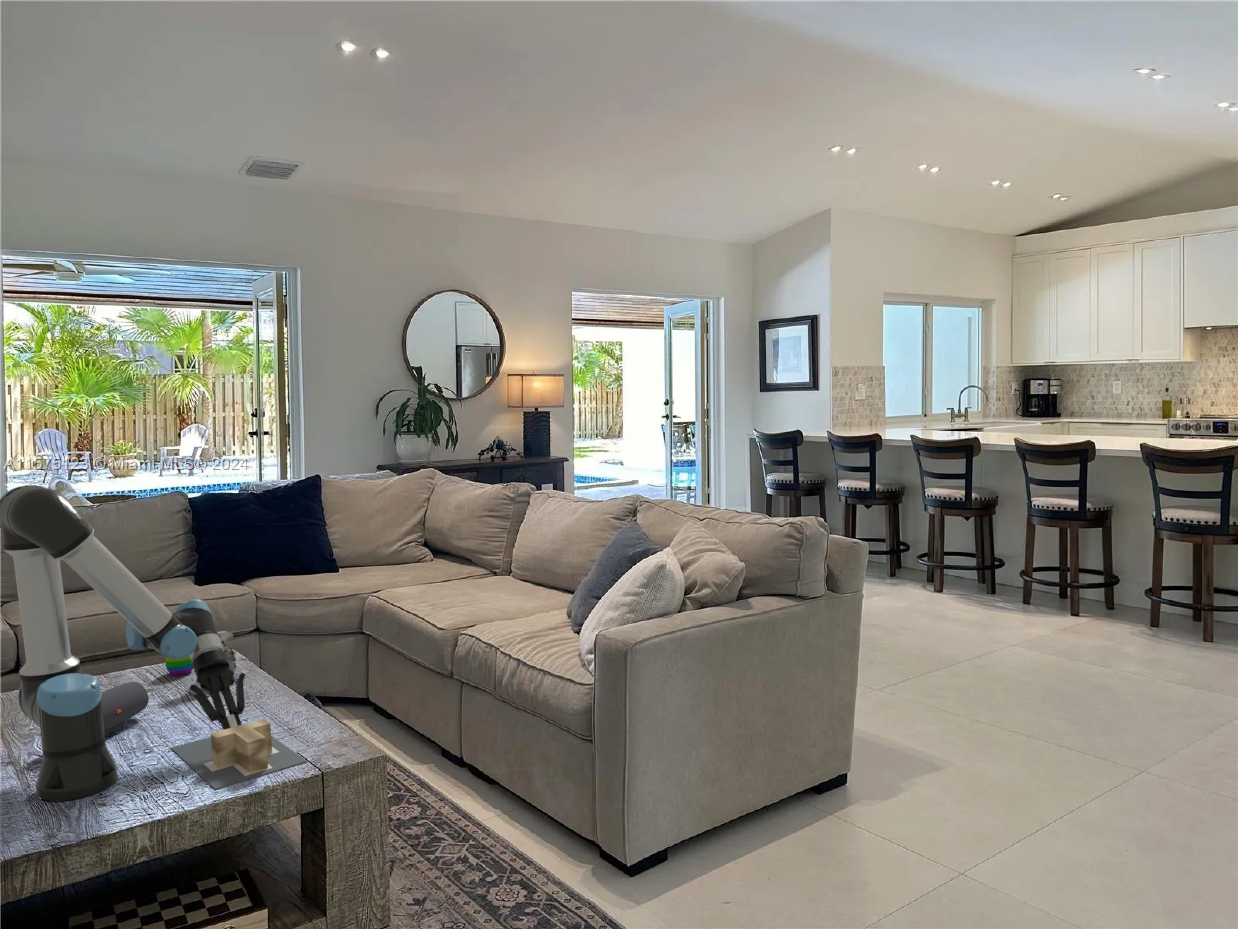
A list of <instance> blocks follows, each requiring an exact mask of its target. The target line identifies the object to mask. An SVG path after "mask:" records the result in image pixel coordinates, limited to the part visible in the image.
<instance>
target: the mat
mask: <svg viewBox="0 0 1238 929" xmlns="http://www.w3.org/2000/svg"><path fill="white" fill-rule="evenodd" d="M271 741H272V753H270V754H267V760H268V768H266V769H263V770H259V771H256V772H253V773H249V772H248V771H246V770H245V769H244V768H243V767H241V766H240V765H239V764H238V763H236V764H232V765H229V766H225V767H222V768H218V767H217V766H215V765H214V764H213V759H212V746H211V736H209V737H206V738H202V739H199V740H195V741H191V742H187V743H184V744H183V743H182V744H179V745H176V746H172V747H170V749H171V750H172V751H173V752H174V753H175V754H176V755H178V757H179V758H181V759H182V760H183V761H184V762H185V763H186V764H187V765H188V766H189V767H190V768H191V769H192V770H193V771H194V772H195V773H197V775H198V776H200V777H201V778H202V779H203V780H204V781H205V782H206V783H207V784H208V785H209V786H210V787H212V789H213V790H215V791H216V790H219V789H222V788H225V787H229V786H232V785H235V784H236V785H237V784H239V783H242V782H245V781H249V780H252V779H256V778H259V777H262V776H265V775H269V774H271V773H276V772H278V771H281V770H284V769H287V768H288V769H289V768H292V767H294V766H298V765H302V764H304V763H308V760H306V759H305V758H304V757H303V756H301V755H300V754H298V753H296V752H295V751H293V749H291V748H290V747H288V746H286V745H285V744H284V743H283V742H282V741H280V740H278V739H277V738H275V737H274V736H273V735H271Z"/></svg>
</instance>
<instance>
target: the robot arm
mask: <svg viewBox="0 0 1238 929" xmlns="http://www.w3.org/2000/svg"><path fill="white" fill-rule="evenodd" d="M0 530H1V536H2V545H3V551H4V552H5V553H7V554H8V555H10V556H11V557H12V560H13V566H14V574H15V581H16V582H15V583H16V588H17V597H18V606H19V613H20V614H19V615H20V622H21V630H22V638H23V644H24V645H23V646H24V654H25V663H24V665H23V666H22V667H21V668H20V669H19V670H18V673H19V679H20V686H19V689H18V694H17V697H18V699H17V700H18V706H19V708H20V711H21V712H22V713H23V714H24V716H25V717H27V718H28V719H29V720H31V721H32V722H33V723H34V724H35V725H37V726H38V727H39V730H40V741H41V750H42V760H41V761H42V762H41V765H40V768H39V772H38V776H37V779H36V780H37V781H36V783H35V790H36V791H35V792H36V793H35V794H36V797H37V796H38V797H40V798H41V799H44V800H49V801H48V802H65V801H70V800H71V801H72V800H77V799H81V798H85V797H88V796H92V795H94V794H97V793H99V792H102V791H104V790H105V789H106V790H107V789H108V788H109V787H111V786H112V785H114V784H115V783H116V782H117V781H118V769H117V765H116V764H115V762H114V760H113V757H112V756H111V754H110V752H109V750H108V747H107V746H106V738H105V736H106V735H105V736H104V723H103V712H102V700H101V697H102V692H103V691H102V689H101V686H100V681H99V679H98V678H96V677H95V676H93V675H92V674H88V673H83V674H82V670H81V662H80V658H77V657H76V656H74V655H72V653H71V652H72V651H71V645H70V644H71V643H70V637H69V636H70V635H69V629H68V628H69V627H68V620H67V610H66V602H65V593H64V585H63V576H62V570H61V561H64V563H66V565H68V566H69V567H70V569H72V570H73V571H74V572H75V573H76V574H77V575H78V576H79V577H80V578H82V579H83V581H85V583H87V585H89V587H91V588H92V589H93V590H94V591H95V592H96V593H97V594H98V595H99V596H101V597H102V598H103V599H104V600H105V602H107V603H108V604H109V605H110V606H111V607H112V608H114V610H115V611H116V612H117V613H118V614H120V616H121V617H123V619H125V620H126V621H127V624H126V627H125V628H126V629H125V637H126V643H127V646H128V647H129V649H131V650H132V651H133V650H134V651H138V650H142V651H144V650H145V649H146V650H147V649H151V650H153V651H155V652H157V653H159V654H161V655H163V656H164V657H165V658H166V657H167V658H172V659H183V658H186V657H188V656H189V655H190V658H191V661H192V662H193V667H194V668H193V671H195V672H194V673H195V675H196V681H195V683H192V684H190V685H189V686H190V687H189V690H188V694H189V695H191V696H192V697H193V698H195V699H196V701H197V702H198V704H199V705H200V707H201V708H202V710H203V712H204V713H205V714H206V716H207V717H208V718H209V720H210V721H211V722H216V721H217V722H218V723H219V724H221V729H222V730H225V729H228V728H232V727H236V726H240V725H242V721H241V718H240V715H243V714H244V713H243V712H244V710H245V707H246V705H245V692H244V691H245V690H244V689H245V688H244V680H245V677H246V674H245V673H244V672H240V674H239V673H236V672H234V671H235V670H234V671H233V670H232V669H231V668H230V666H229V663H228V660H227V657H226V655H225V652H224V649H223V647H224V645H222V643H221V641H220V638H219V635H218V633H217V632H218V631H217V628H216V624H215V621H214V619H213V618H214V616H213V614H212V612H211V610H210V608H209V606H208V603H207V602H205V601H204V600H202V599H197V598H196V599H190V600H188V601H185V602H182V603H180V604H179V605H178V606H177V608H176V610H175V612H171V611H170V610H169V609H168V608H167V607H166V606H165V605H164V604H163V603H162V602H161V601H160V600H159V599H158V598H157V597H156V596H155V595H154V594H153V593H152V592H151V591H150V590H149V589H148V588H147V587H146V586H145V585H144V584H143V583H142V582H141V581H140V580H139V579H138V578H137V577H136V576H135V575H134V574H133V573H132V572H131V571H130V570H129V569H128V568H127V567H126V566H125V565H124V564H123V563H122V562H121V561H120V560H119V559H118V558H117V557H116V556H115V555H113V553H112V552H111V551H110V550H109V549H108V548H106V546H105V545H104V544H103V543H102V542H101V541H99V539H97V537H95V528H94V527H93V526H92V525H91V524H90V523H89V522H88V521H87V520H86V518H84V516H83V515H82V514H81V513H80V512H79V511H78V510H77V509H76V508H75V506H74V504H72V502H70V500H69V499H68V498H67V497H66V496H65V495H63V494H62V493H60V492H59V491H57V490H55V489H52V488H47V487H43V486H40V485H37V484H33V485H32V484H30V485H29V484H27V485H26V484H25V485H22V486H16V487H14V488H11V489H9V490H8V491H6V492H5V493H4V494H3V495H2V496H1V497H0ZM232 678H233V679H234V684H236V685H235V697H236V698H234V696H233V694H232V693H233V692H232V691H231V688H230V685H231V683H230V682H231V680H232ZM202 689H203V690H204V691H206V692H208V693H209V696H210V698H211V700H212V702H211V701H210V700H209V699H208V696H207V695H206V694H205V693H204V691H203V690H202ZM221 695H222V697H223V700H224V702H225V705H226V707H225V706H224V702H223V701H222V697H221ZM235 699H236V702H235ZM212 703H213V704H212ZM225 708H227V711H228V714H229V715H227V712H226V709H225ZM38 797H37V798H38ZM41 799H40V800H41ZM44 800H43V801H44Z"/></svg>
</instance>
